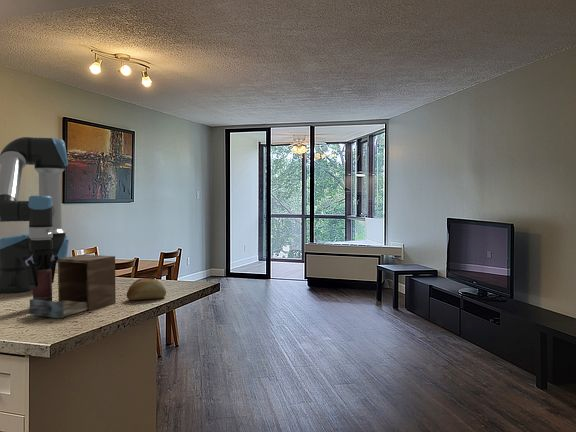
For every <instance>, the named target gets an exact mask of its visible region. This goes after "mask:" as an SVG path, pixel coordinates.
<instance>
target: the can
mask: <svg viewBox="0 0 576 432" xmlns="http://www.w3.org/2000/svg"><path fill="white" fill-rule="evenodd" d="M35 272H36V277H37V282H38V286H37V287H34V286H33V290H32V299H34V300H44V301H53V283H52V270H51V268H49V269H42V270H35Z"/></svg>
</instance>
